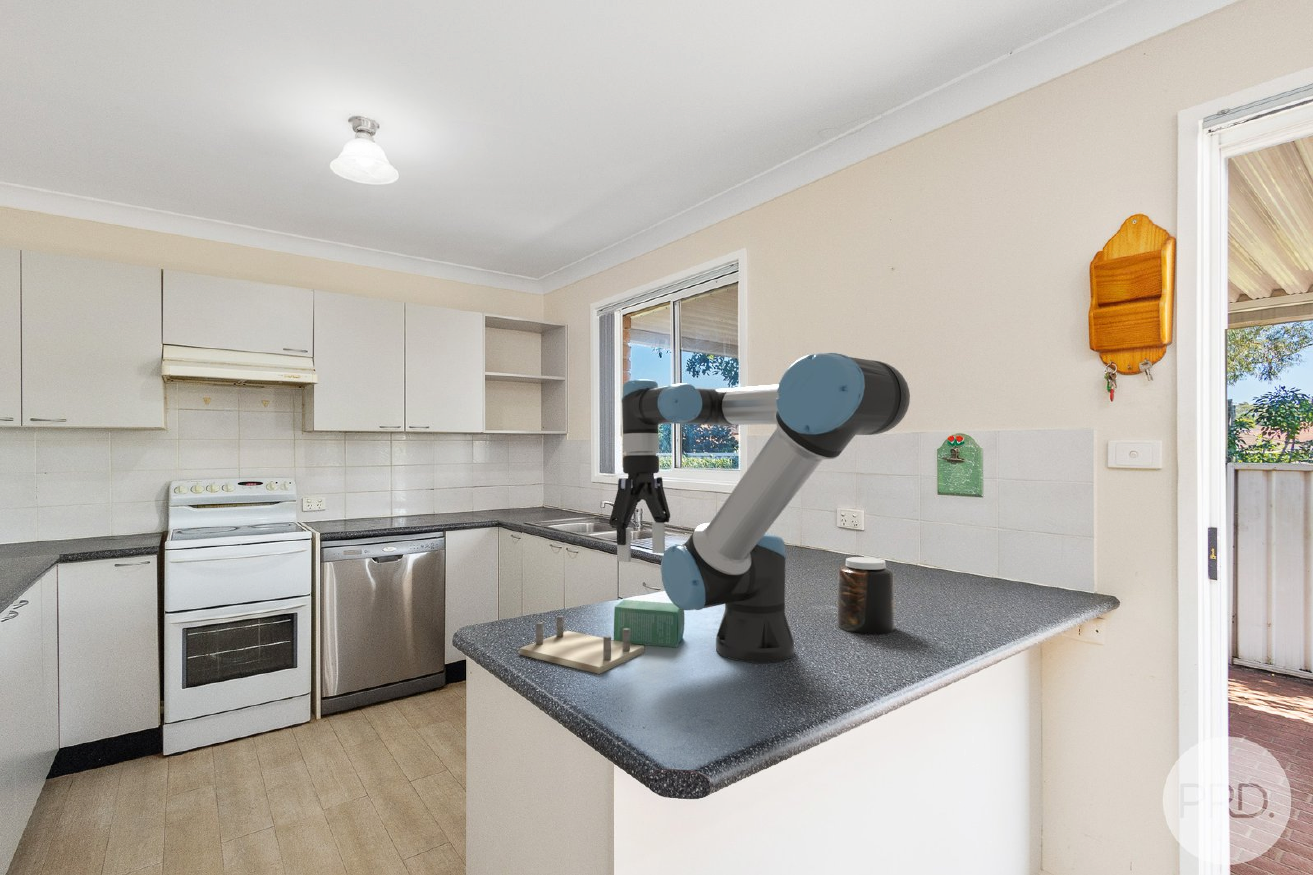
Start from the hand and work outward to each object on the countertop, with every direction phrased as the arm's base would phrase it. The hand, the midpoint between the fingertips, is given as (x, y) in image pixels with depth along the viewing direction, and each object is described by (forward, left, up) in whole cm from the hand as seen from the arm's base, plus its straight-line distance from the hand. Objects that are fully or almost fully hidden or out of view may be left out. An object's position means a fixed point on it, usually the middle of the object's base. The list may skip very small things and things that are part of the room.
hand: (642, 557), depth 131 cm
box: (-2, 0, -17) cm, 17 cm away
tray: (+4, +14, -17) cm, 22 cm away
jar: (-37, -35, -17) cm, 53 cm away
